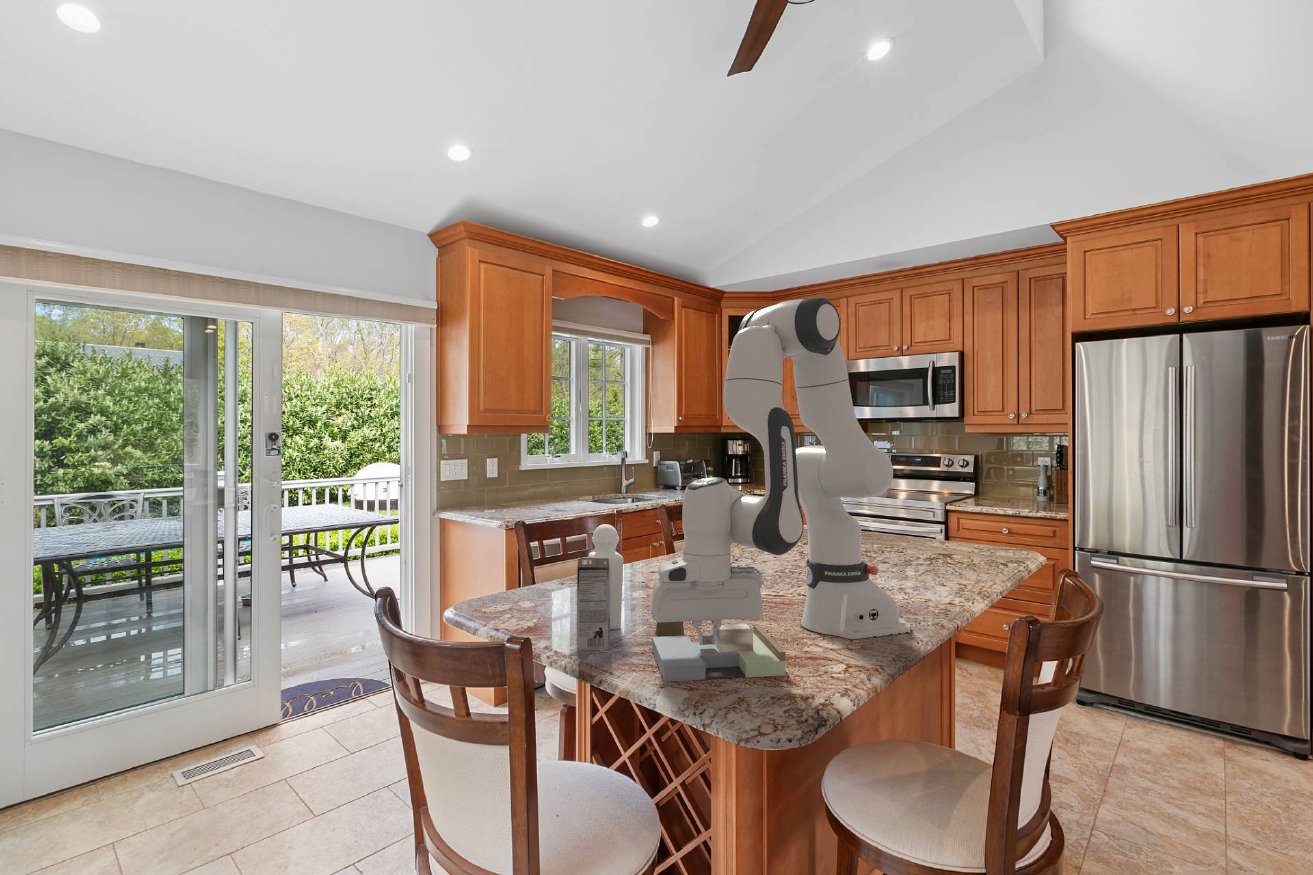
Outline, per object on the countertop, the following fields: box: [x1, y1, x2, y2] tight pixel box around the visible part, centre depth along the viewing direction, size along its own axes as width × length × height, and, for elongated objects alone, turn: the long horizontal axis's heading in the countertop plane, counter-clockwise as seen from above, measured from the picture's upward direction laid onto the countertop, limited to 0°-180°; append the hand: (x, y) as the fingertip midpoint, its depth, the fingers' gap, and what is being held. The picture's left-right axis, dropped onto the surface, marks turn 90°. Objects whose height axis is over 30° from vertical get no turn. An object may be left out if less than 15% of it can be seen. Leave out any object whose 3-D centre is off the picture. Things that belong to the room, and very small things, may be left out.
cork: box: [655, 621, 685, 637], centre depth 133 cm, size 6×6×11 cm
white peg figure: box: [587, 523, 624, 630], centre depth 139 cm, size 6×6×22 cm
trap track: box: [651, 624, 787, 682], centre depth 116 cm, size 21×16×4 cm
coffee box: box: [576, 557, 611, 651], centre depth 127 cm, size 9×6×16 cm
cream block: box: [715, 623, 753, 652], centre depth 117 cm, size 6×4×4 cm
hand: (706, 643), depth 116 cm, fingers closed
